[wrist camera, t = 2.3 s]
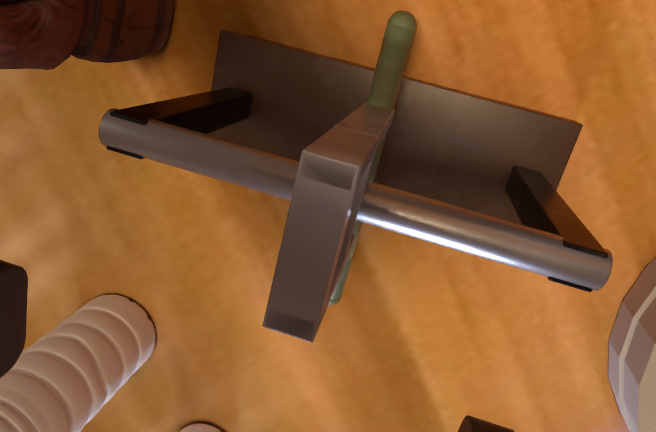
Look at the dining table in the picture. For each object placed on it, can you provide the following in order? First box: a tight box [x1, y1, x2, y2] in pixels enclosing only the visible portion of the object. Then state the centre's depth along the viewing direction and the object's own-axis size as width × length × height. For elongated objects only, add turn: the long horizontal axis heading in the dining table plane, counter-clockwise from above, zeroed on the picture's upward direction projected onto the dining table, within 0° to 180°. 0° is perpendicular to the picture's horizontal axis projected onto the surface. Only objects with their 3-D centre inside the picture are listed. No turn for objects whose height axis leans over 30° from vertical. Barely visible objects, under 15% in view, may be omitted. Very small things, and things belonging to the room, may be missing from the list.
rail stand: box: [99, 30, 613, 292], centre depth 27 cm, size 8×22×15 cm, turn 76°
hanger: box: [263, 11, 417, 342], centre depth 21 cm, size 16×2×14 cm, turn 166°
